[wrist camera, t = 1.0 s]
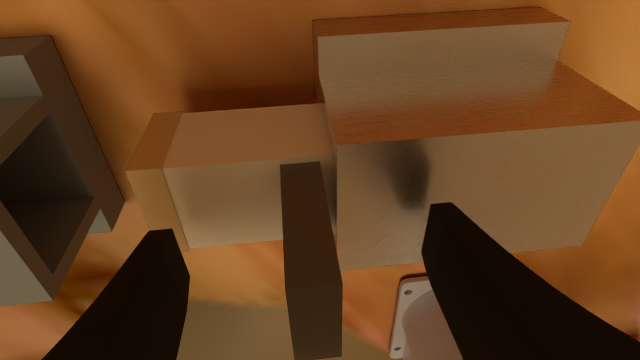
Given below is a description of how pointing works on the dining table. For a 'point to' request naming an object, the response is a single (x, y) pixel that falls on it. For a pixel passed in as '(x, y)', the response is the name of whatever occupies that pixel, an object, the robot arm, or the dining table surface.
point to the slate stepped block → (46, 173)
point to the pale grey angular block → (252, 199)
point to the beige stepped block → (464, 131)
